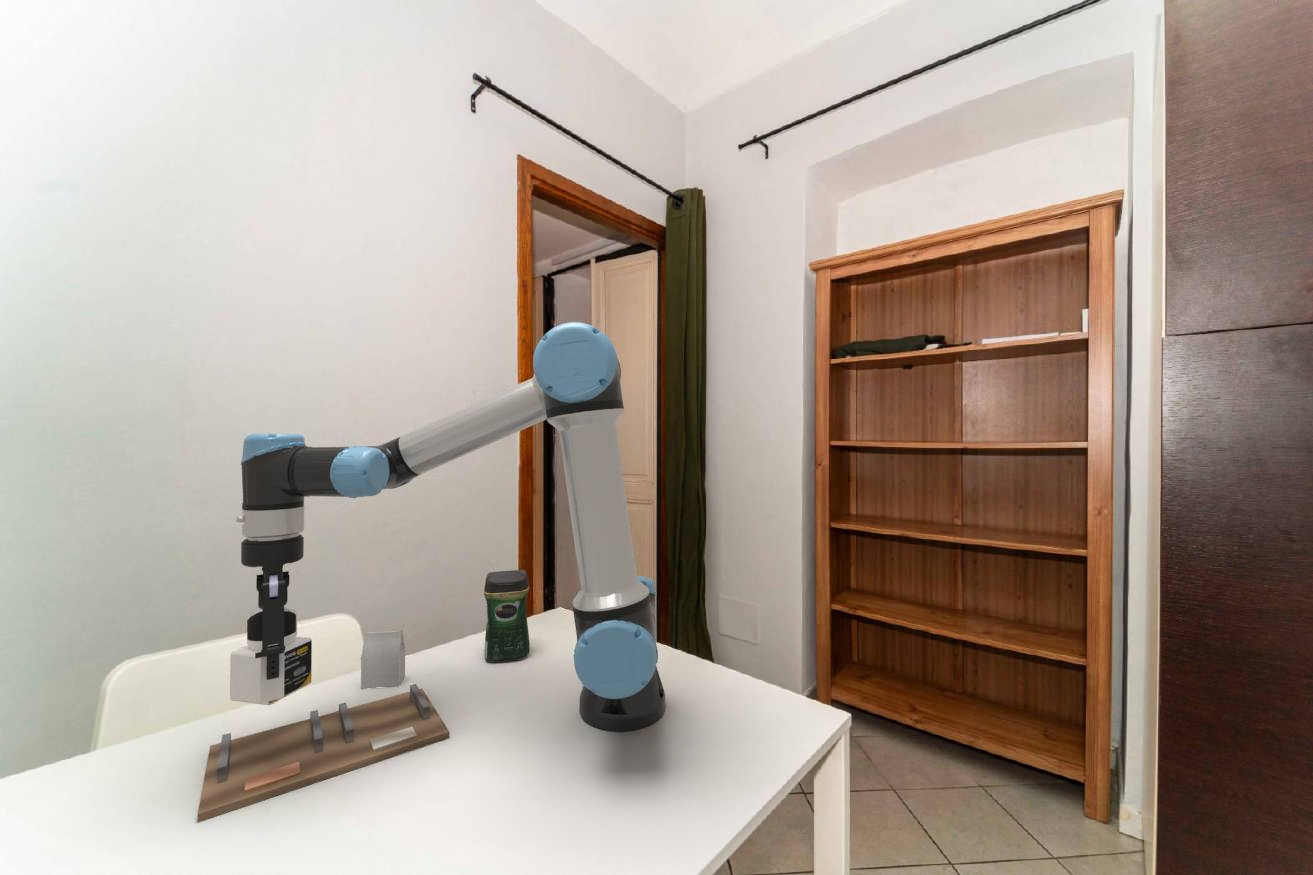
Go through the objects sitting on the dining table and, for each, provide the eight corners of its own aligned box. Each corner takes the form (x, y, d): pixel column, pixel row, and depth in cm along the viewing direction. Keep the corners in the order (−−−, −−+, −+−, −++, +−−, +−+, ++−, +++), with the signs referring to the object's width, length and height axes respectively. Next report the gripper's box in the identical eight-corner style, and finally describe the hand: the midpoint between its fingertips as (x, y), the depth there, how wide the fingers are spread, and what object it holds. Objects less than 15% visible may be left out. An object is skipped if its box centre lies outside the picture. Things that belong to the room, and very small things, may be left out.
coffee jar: (529, 646, 118) (529, 565, 118) (530, 660, 111) (530, 574, 111) (484, 650, 116) (485, 568, 116) (482, 665, 108) (482, 577, 108)
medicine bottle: (269, 706, 73) (270, 621, 73) (228, 701, 74) (229, 617, 74) (312, 683, 80) (313, 605, 80) (274, 678, 81) (275, 602, 81)
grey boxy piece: (398, 686, 99) (398, 634, 99) (361, 689, 98) (361, 636, 98) (405, 677, 103) (405, 627, 103) (368, 680, 102) (368, 629, 102)
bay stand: (449, 737, 82) (449, 718, 82) (197, 822, 64) (197, 797, 64) (422, 693, 96) (422, 677, 96) (210, 752, 78) (210, 732, 78)
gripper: (243, 528, 84) (242, 665, 84) (238, 552, 66) (236, 726, 66) (299, 523, 88) (298, 654, 88) (308, 545, 71) (306, 708, 70)
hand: (271, 685), depth 77 cm, fingers closed on medicine bottle, 10 cm apart
